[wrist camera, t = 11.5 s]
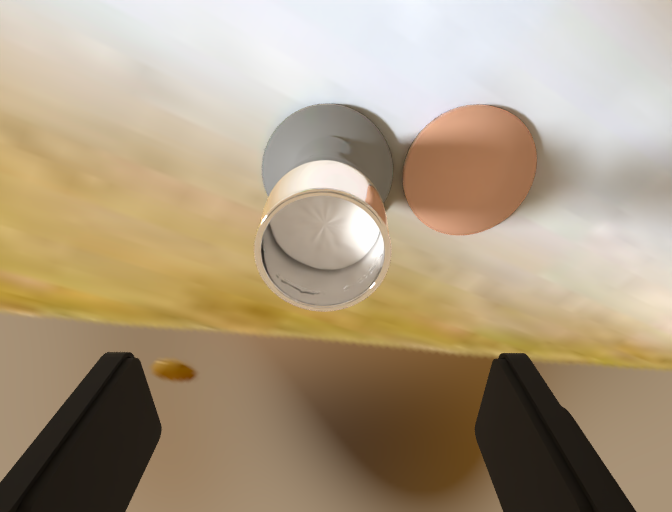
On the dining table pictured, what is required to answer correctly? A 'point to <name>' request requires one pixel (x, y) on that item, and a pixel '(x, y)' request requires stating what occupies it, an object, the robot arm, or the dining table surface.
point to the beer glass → (324, 230)
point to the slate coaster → (328, 123)
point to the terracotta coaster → (469, 169)
